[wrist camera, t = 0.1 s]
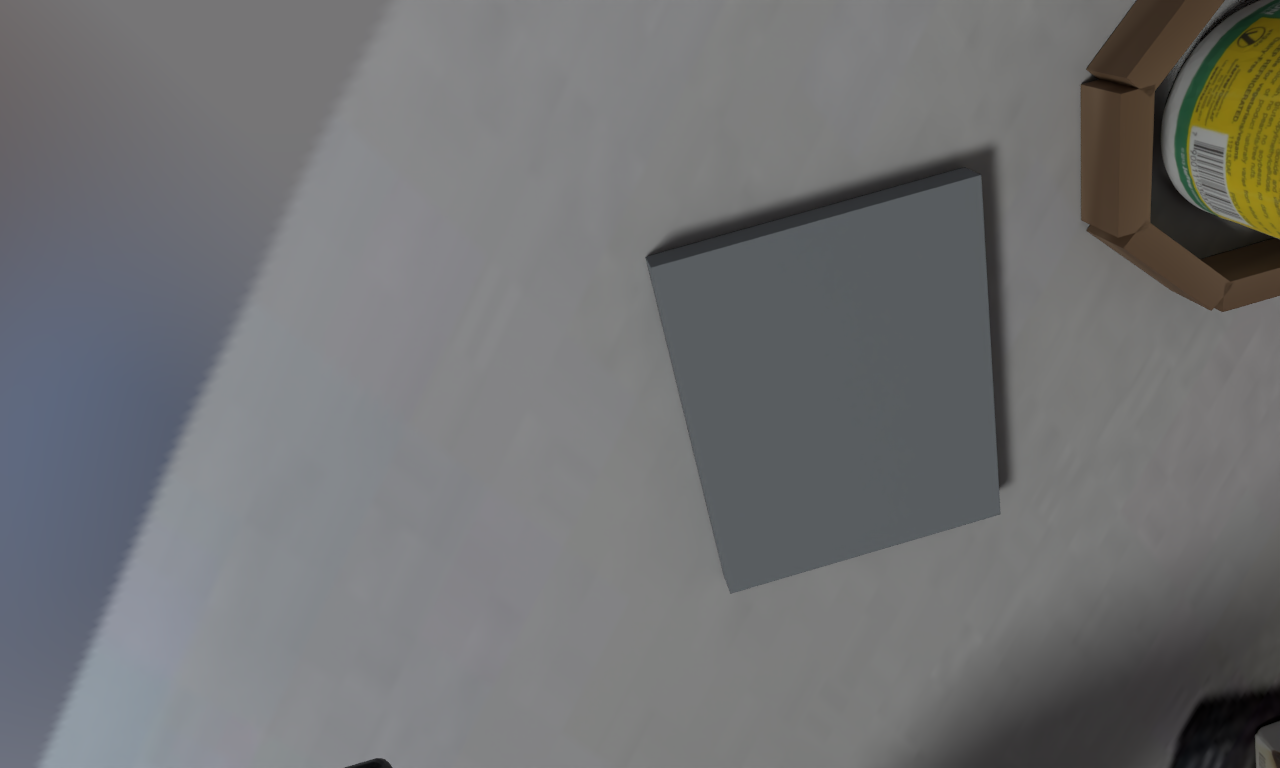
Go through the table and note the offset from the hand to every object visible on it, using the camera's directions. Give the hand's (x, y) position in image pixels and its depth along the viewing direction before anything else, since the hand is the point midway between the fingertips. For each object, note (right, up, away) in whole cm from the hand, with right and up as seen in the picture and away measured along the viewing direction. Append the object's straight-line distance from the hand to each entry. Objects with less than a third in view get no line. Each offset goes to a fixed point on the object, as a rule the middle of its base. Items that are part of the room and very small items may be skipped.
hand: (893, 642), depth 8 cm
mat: (+3, +2, +16) cm, 16 cm away
